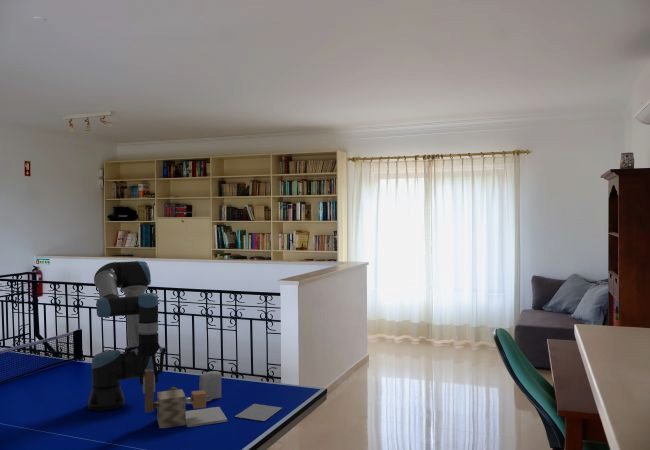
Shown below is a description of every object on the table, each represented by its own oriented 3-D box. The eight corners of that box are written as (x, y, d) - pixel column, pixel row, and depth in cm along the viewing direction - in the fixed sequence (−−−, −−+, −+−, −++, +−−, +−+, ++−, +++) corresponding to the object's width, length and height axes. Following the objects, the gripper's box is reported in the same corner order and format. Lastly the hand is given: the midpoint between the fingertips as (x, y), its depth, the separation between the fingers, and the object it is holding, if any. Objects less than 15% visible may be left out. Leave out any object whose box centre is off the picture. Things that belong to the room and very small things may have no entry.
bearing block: (159, 428, 214) (159, 399, 214) (157, 419, 223) (156, 392, 223) (185, 424, 218) (185, 396, 218) (182, 416, 227) (182, 389, 227)
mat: (187, 427, 215) (187, 424, 215) (182, 414, 230) (182, 411, 230) (227, 421, 221) (227, 419, 221) (219, 408, 236) (219, 406, 236)
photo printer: (219, 395, 254) (219, 368, 254) (222, 398, 250) (222, 371, 250) (197, 399, 248) (197, 372, 248) (201, 402, 245) (201, 374, 245)
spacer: (193, 408, 221) (193, 395, 221) (191, 404, 226) (191, 391, 226) (206, 407, 223) (206, 393, 223) (203, 403, 228) (203, 390, 228)
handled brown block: (145, 412, 215) (145, 372, 215) (144, 409, 219) (144, 369, 218) (211, 403, 225) (211, 365, 224) (210, 400, 228) (209, 362, 228)
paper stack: (214, 415, 229) (214, 413, 229) (244, 397, 252) (244, 395, 252) (264, 422, 221) (264, 421, 221) (290, 403, 244) (290, 401, 244)
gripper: (127, 336, 210) (127, 397, 211) (170, 332, 216) (171, 391, 217) (126, 332, 217) (127, 391, 218) (168, 329, 223) (168, 386, 224)
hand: (148, 391), depth 217 cm, fingers closed on handled brown block, 3 cm apart
